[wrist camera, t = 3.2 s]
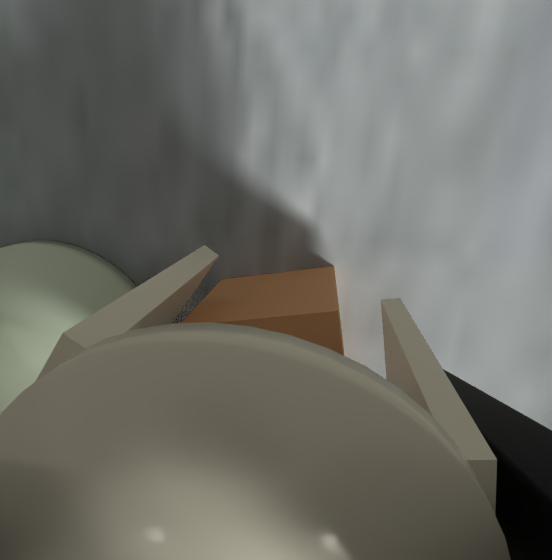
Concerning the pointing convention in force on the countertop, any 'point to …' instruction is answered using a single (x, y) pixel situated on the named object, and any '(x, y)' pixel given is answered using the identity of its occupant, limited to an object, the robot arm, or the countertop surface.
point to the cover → (239, 444)
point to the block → (278, 305)
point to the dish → (47, 304)
